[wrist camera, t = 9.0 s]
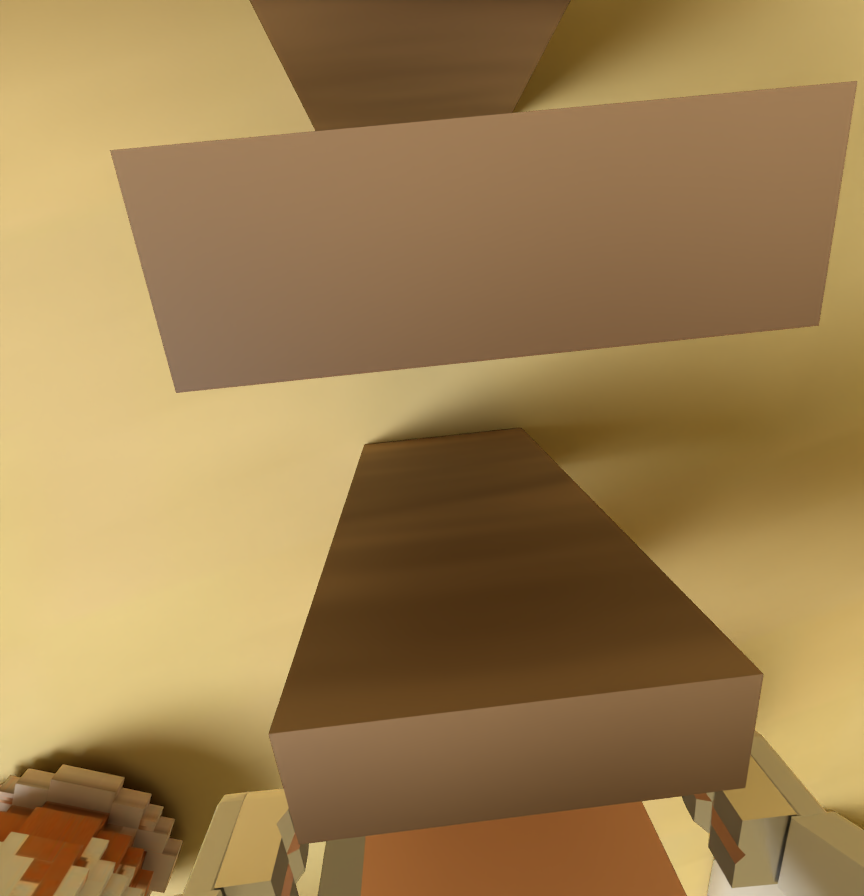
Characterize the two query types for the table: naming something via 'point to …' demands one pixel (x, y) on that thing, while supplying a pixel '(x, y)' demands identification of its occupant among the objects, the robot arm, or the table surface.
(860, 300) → the table surface
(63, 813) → the decorative ornament
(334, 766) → the domino
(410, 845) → the domino
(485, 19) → the domino
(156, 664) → the table surface
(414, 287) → the domino
